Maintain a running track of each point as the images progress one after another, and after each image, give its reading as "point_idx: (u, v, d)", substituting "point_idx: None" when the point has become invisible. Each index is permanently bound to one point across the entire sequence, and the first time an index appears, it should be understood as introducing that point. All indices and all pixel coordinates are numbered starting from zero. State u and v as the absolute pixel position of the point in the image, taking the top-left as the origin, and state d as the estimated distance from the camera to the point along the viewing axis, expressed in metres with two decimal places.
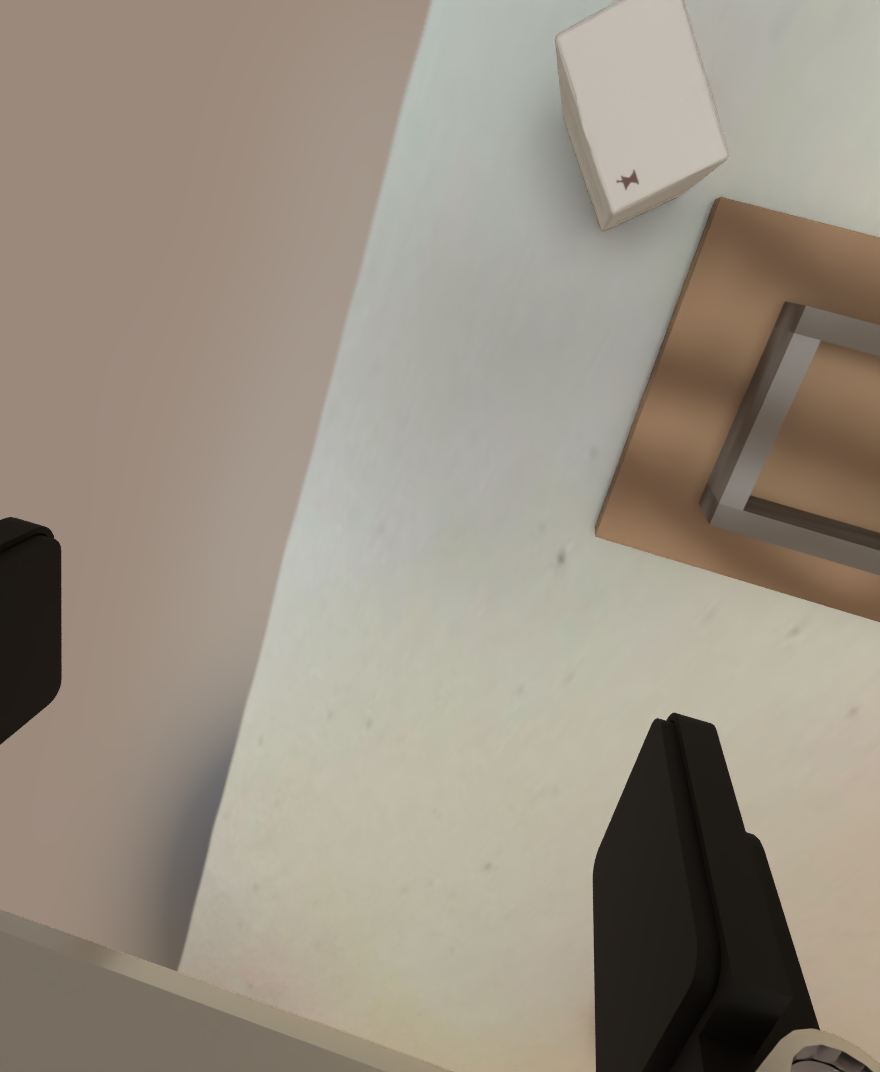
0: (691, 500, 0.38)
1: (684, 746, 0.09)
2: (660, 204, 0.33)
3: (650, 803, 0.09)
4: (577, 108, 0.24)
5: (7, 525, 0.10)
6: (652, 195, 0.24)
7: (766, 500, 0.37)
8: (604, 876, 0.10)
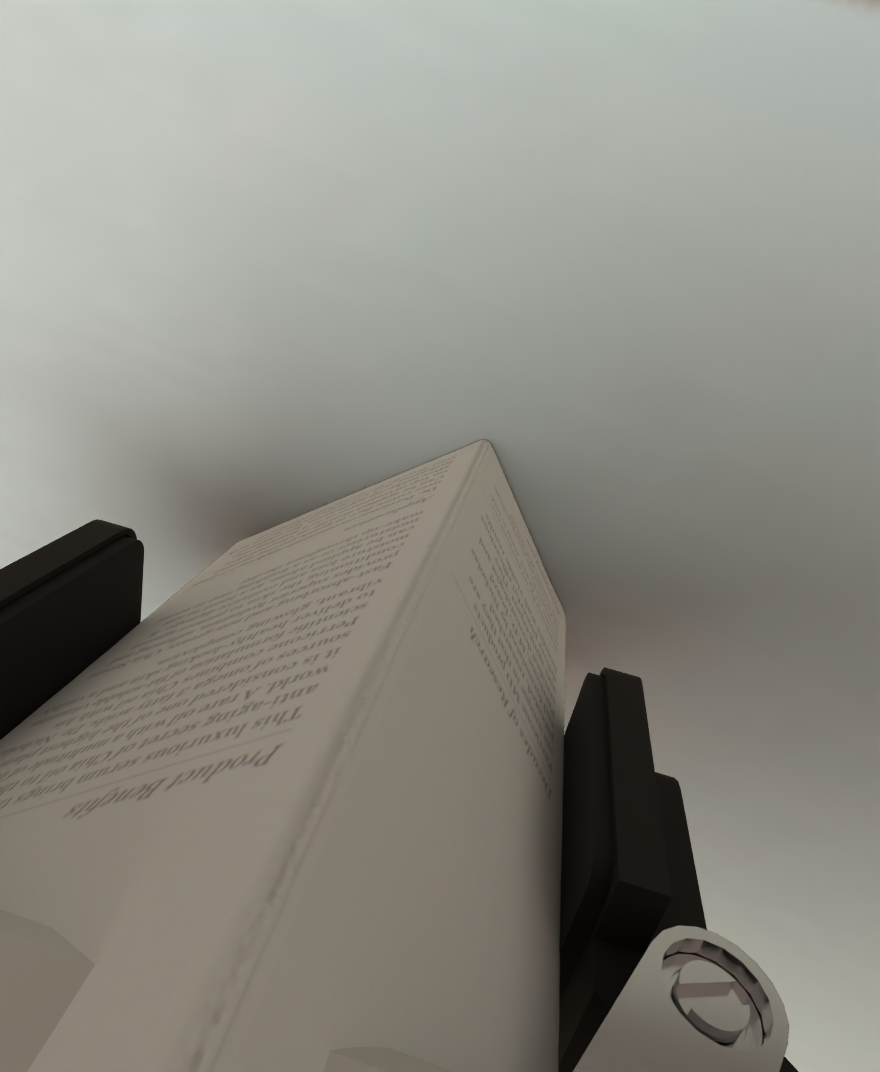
0: None
1: (609, 695, 0.09)
2: None
3: (577, 747, 0.09)
4: None
5: (96, 527, 0.10)
6: None
7: None
8: None
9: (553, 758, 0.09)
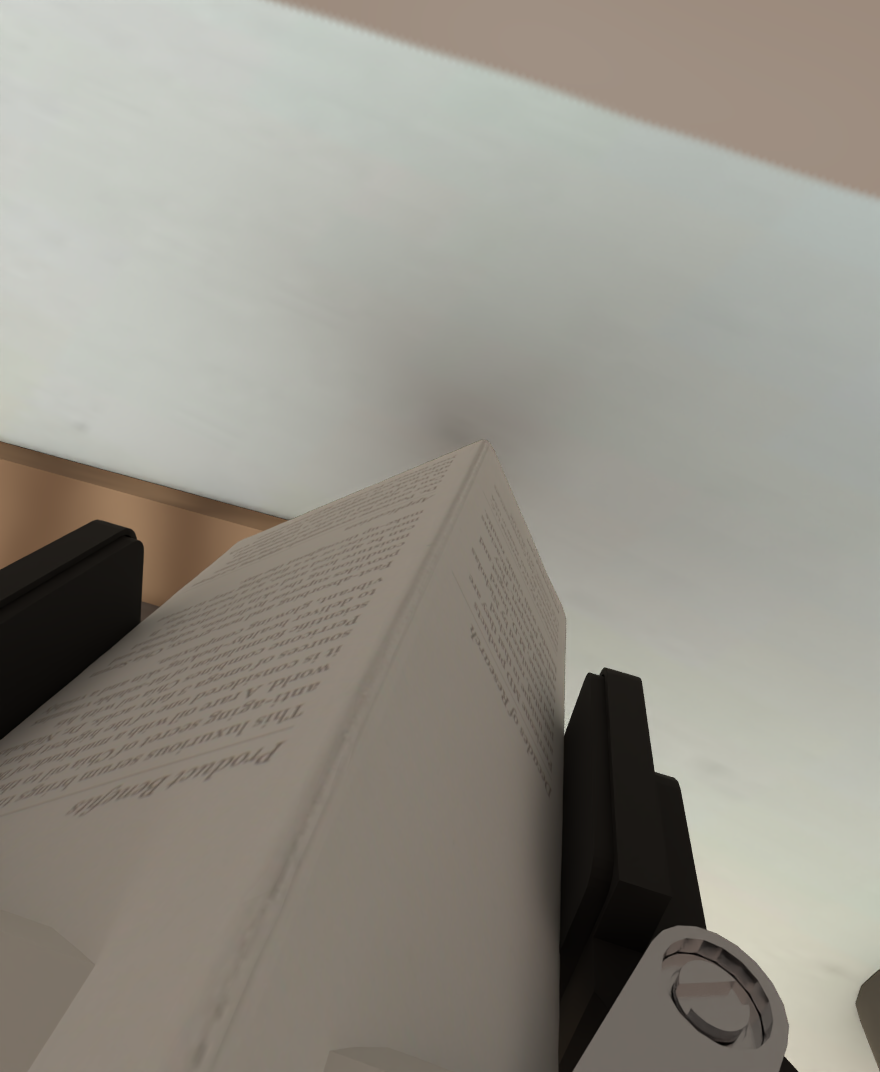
0: None
1: (609, 695, 0.09)
2: None
3: (577, 748, 0.09)
4: None
5: (97, 527, 0.10)
6: None
7: None
8: None
9: (553, 757, 0.09)
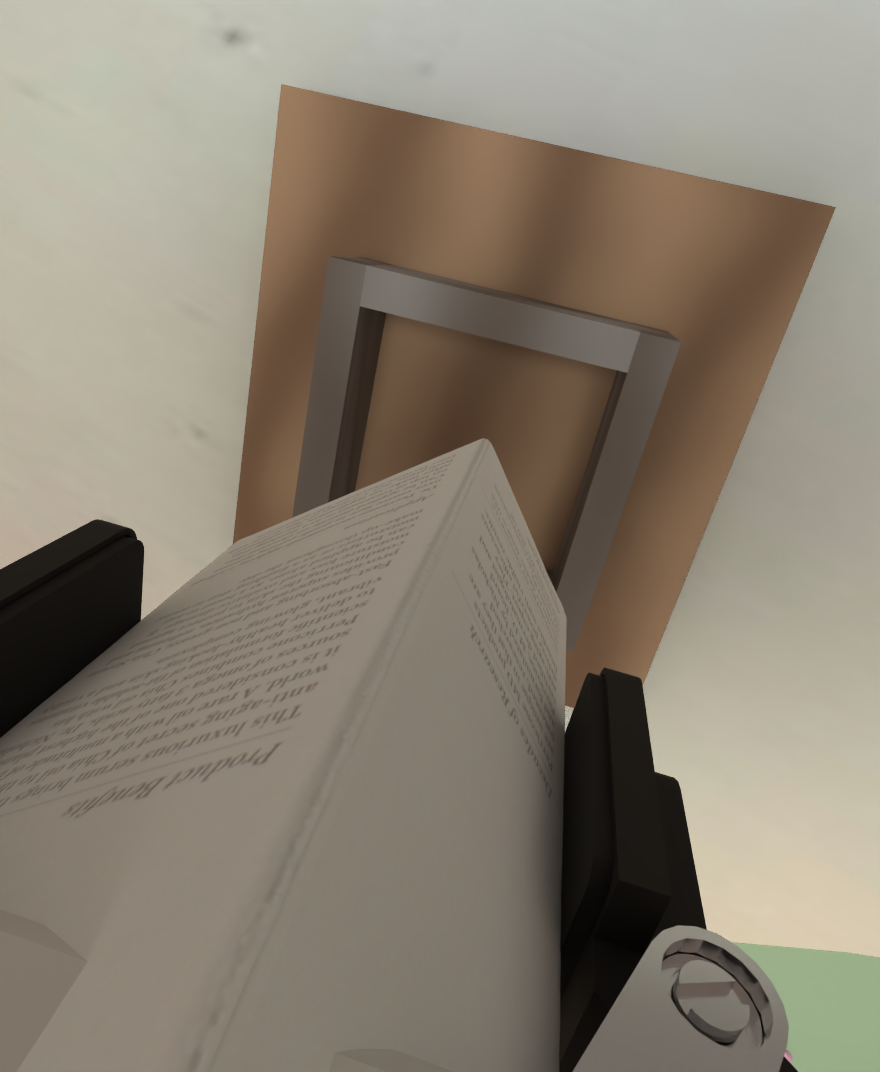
0: (363, 244, 0.24)
1: (609, 695, 0.09)
2: None
3: (577, 748, 0.09)
4: None
5: (96, 527, 0.10)
6: None
7: (377, 356, 0.25)
8: None
9: (554, 757, 0.09)
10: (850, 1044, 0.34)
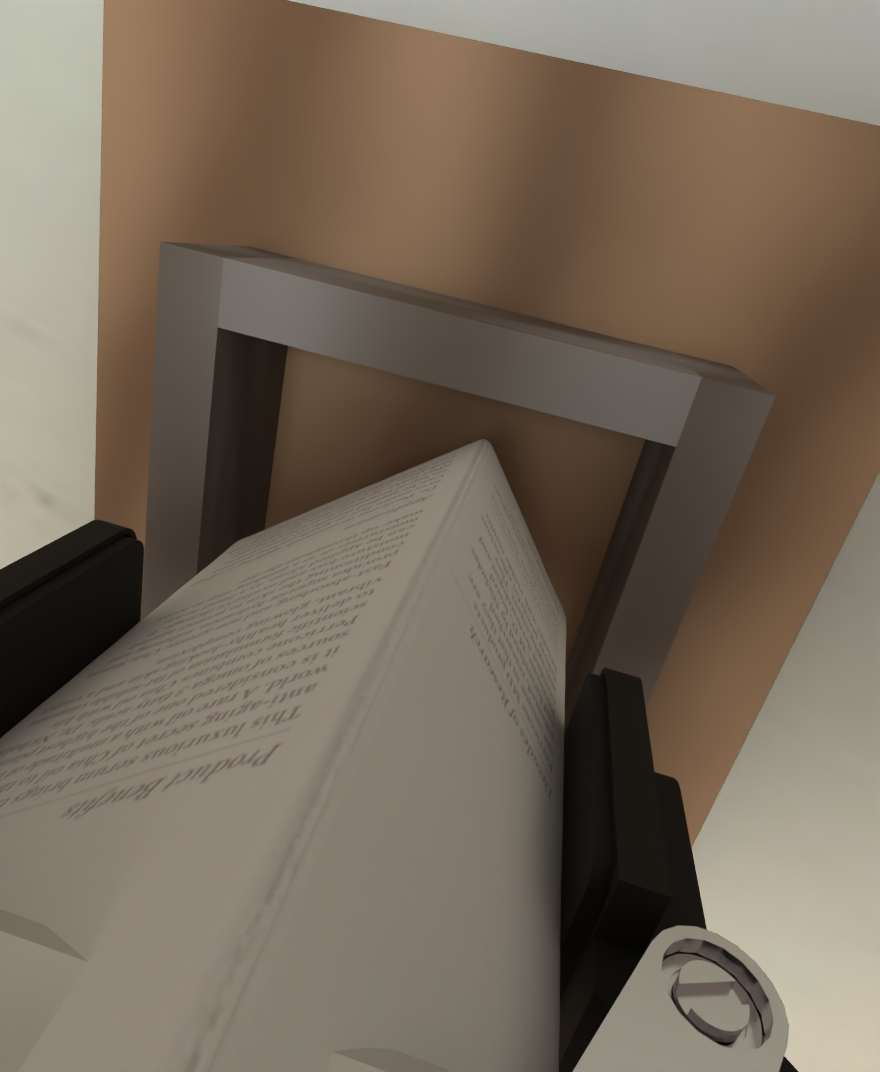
0: (249, 226, 0.15)
1: (608, 695, 0.09)
2: None
3: (576, 748, 0.09)
4: None
5: (96, 527, 0.10)
6: None
7: (279, 400, 0.16)
8: None
9: (553, 758, 0.09)
10: None
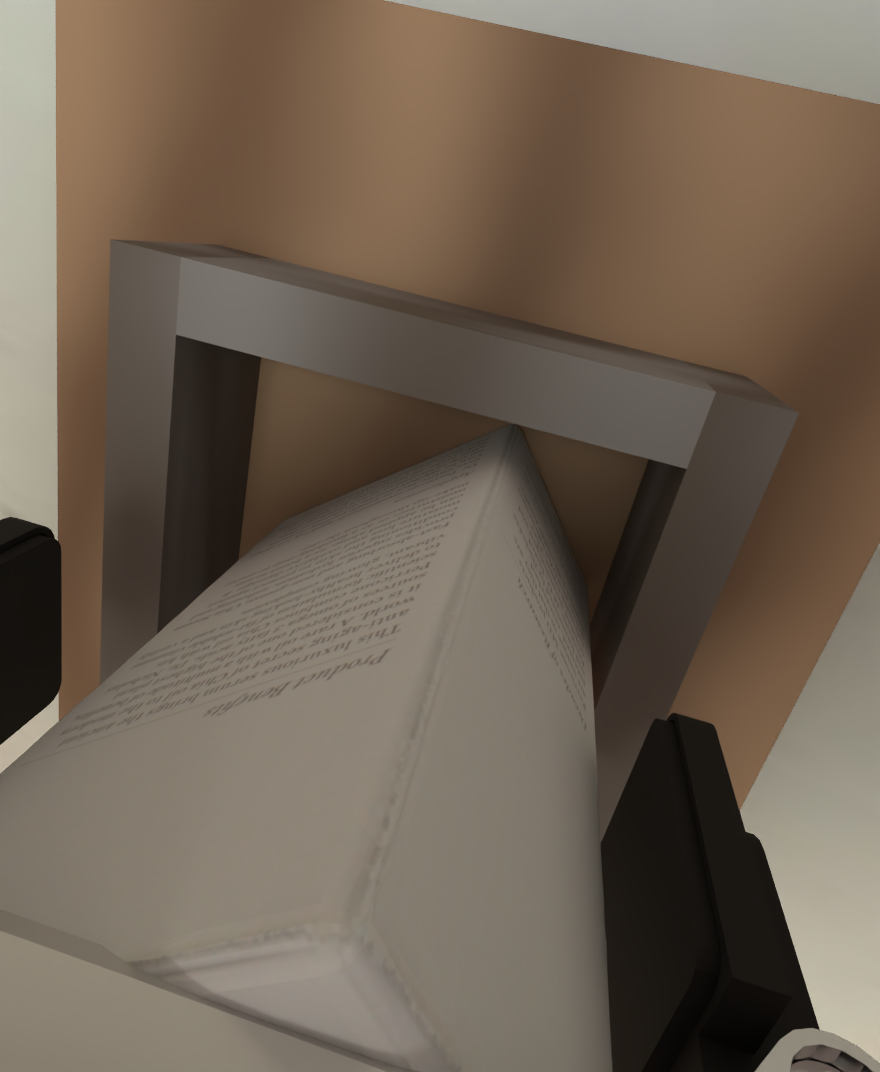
0: (218, 223, 0.14)
1: (684, 746, 0.09)
2: None
3: (650, 803, 0.09)
4: None
5: (7, 525, 0.10)
6: None
7: (252, 411, 0.15)
8: (604, 876, 0.10)
9: (586, 700, 0.11)
10: None
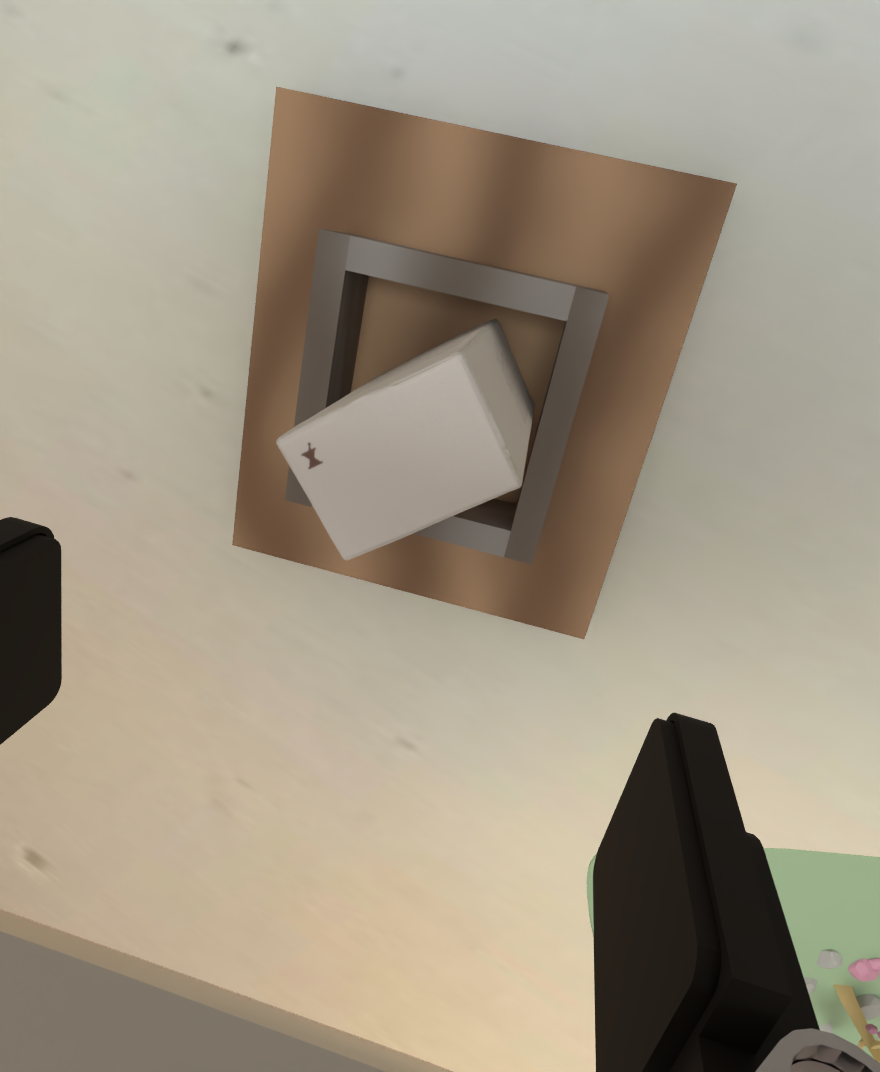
0: (347, 222, 0.28)
1: (684, 746, 0.09)
2: None
3: (650, 803, 0.09)
4: (384, 387, 0.19)
5: (7, 525, 0.10)
6: (300, 484, 0.20)
7: (361, 318, 0.30)
8: (604, 876, 0.10)
9: (526, 419, 0.25)
10: (792, 931, 0.39)
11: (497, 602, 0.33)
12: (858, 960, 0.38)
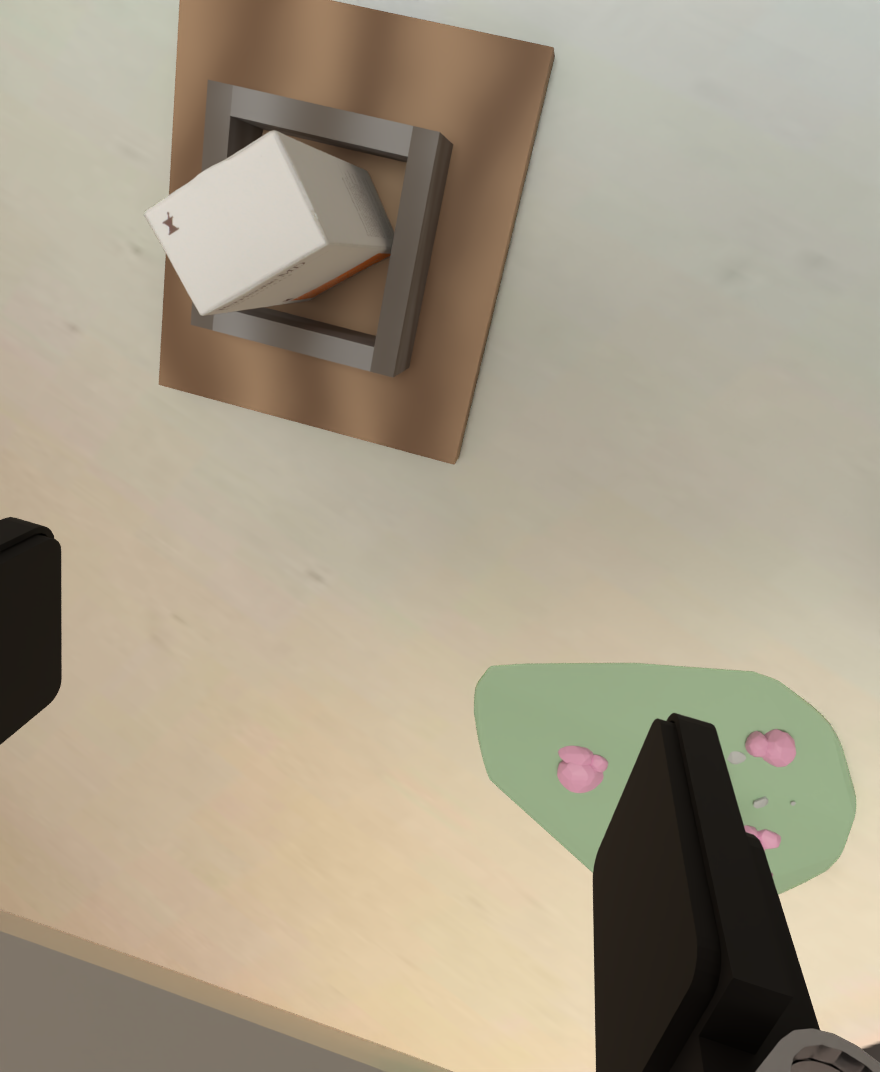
0: (243, 87, 0.34)
1: (684, 746, 0.09)
2: None
3: (650, 803, 0.09)
4: (221, 162, 0.24)
5: (7, 525, 0.10)
6: (164, 250, 0.26)
7: None
8: (604, 876, 0.10)
9: (373, 237, 0.31)
10: None
11: (380, 432, 0.39)
12: None
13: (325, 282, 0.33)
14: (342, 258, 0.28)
